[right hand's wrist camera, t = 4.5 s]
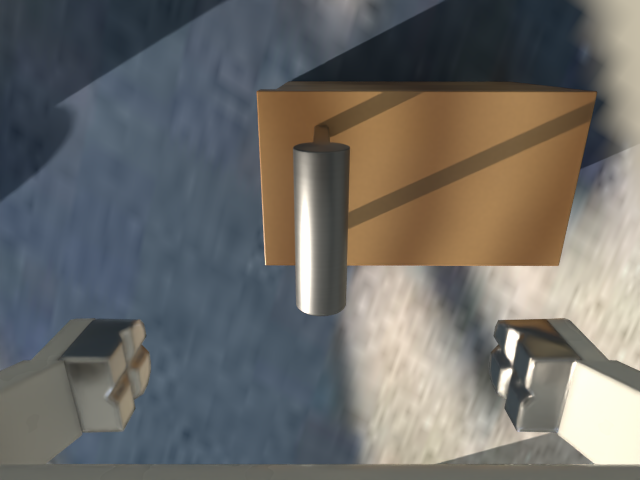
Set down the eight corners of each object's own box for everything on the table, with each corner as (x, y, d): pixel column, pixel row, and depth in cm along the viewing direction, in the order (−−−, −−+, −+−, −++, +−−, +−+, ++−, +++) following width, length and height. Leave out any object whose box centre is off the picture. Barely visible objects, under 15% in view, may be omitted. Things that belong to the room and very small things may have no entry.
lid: (267, 256, 26) (242, 348, 18) (259, 89, 23) (224, 106, 14) (548, 256, 26) (654, 349, 18) (583, 90, 23) (736, 107, 14)
